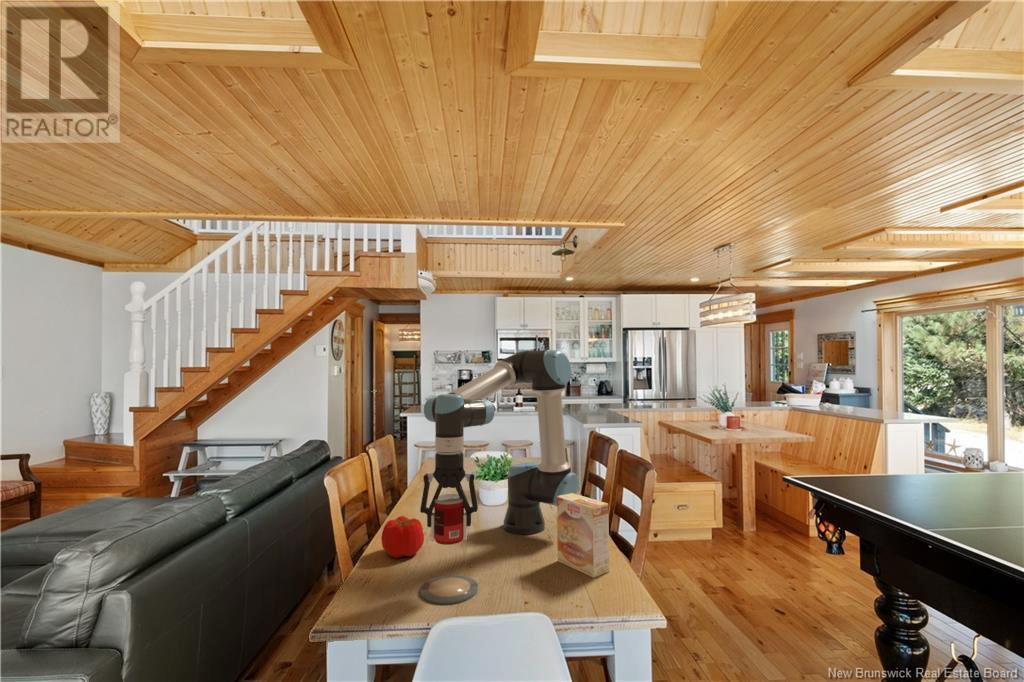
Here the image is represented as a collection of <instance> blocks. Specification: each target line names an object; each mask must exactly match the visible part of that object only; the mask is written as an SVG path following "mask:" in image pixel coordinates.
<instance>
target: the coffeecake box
mask: <svg viewBox="0 0 1024 682" xmlns="http://www.w3.org/2000/svg"><path fill="white" fill-rule="evenodd" d="M556 518H557V519H556V524H557V527H556V530H557V534H556V535H557V536H556V537H557V543H556V545H557V562H559V563H561V564H563V565H565V566H568V567H569V568H571V569H573V570H575V571H578V572H580V573H583V574H585V576H586V575H587V576H588V577H590V578H593V579H594V578H597V577H600V576H601V575H605V574H606V573H609V572H610V532H609V525H610V524H609V522H610V521H609V519H610V518H609V503H607V502H605V501H604V502H603V501H601V500H598V499H593V498H591V497H588V496H583V495H581V494H578V493H577V494H574V493H570V494H565V495H560V496H557V506H556Z"/></svg>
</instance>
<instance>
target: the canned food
mask: <svg viewBox="0 0 1024 682" xmlns="http://www.w3.org/2000/svg"><path fill="white" fill-rule="evenodd" d="M464 512H465V509H464V506H463V501H462V499H460V497H459V494H458V493H455V494H454V493H448V494H442V495H441V494H440V495H439V497H438V499H437V500H436V499H435V506H434V509H433V513H434V538H435V540H434V541H435V543H436V544H439V545H445V546H447V545H448V546H449V545H451V546H452V545H456V544H459V543H461V542H462V541H464V540H463V515H464Z"/></svg>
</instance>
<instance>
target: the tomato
mask: <svg viewBox="0 0 1024 682" xmlns="http://www.w3.org/2000/svg"><path fill="white" fill-rule="evenodd" d="M423 530H424V529H423V525H422V523H421V521H420V520H419V519H417V518H410V519H409V517H406V516H404V515H401V516H398V517H396V518H395V519H390V520H388V521H387V522H386V524H385V525H384V527H383V529H382V533H381V538H380V539H381V546H382V548H383V549H384V551H385V553H386V554H387V555H389V556H390V557H393V558H394V559H395V558H396V559H400V558H402V557H412V556H413V555H415V554H416V553H417V552H418V551H420V550H421V548H422V547H423V545H424V541H425V533H424V531H423Z"/></svg>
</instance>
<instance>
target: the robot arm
mask: <svg viewBox="0 0 1024 682" xmlns="http://www.w3.org/2000/svg"><path fill="white" fill-rule="evenodd" d="M571 376H572V366H571V362H570V360H569V358H568V356H566V353H564V352H563V351H561V350H557V349H542V350H523V351H520V352H517V353H514V354H511V355H510V356H508V357H505V358H504V359H502V360H500V361H498V362H496V363H495V364H494V366H493V368H491V369H490V370H488V371H486V372H485V373H483V374H481V375H478V376H477V377H475V378H473V379H472V380H470V381H469V382H468V381H467V383H465V384H463V385H462V386H459V387H458V388H456V389H454V390H453V391H451V392H448V393H447V394H446V393H445V394H439V395H437V396H436V397H430V398H428V399H427V400H426V402H425V403H424V405H423V413H424V414H423V415H424V417H425V418H426V420H427V421H429V422H431V423H435V424H434V425H435V435H434V436H435V437H434V438H435V441H434V443H435V445H434V446H435V447H434V448H435V449H434V450H435V452H436V453H435V455H434V457H435V460H434V462H435V465H434V466H435V467H434V471H433V472H431V473H427V472H426V473H424V475H423V484H424V486H423V491H422V496H421V503H420V507H419V509H420V510H419V511H420V513H422V514H426V518H427V519H426V526H427V528H430V531H431V532H430V536H431V537H430V540H431V542H434V541H435V538H434V506H435V499H436V500H437V499H438V497H439V496H440V495H441V492H442V489H448V488H451V489H455V490H456V492H457V495H459V497H460V499H462V501H463V506H464V515H463V540H462V541H467V537H468V527H471V525H472V514H473V513H477V512H478V509H479V505H478V500H477V494H476V487H475V475H476V474H475V472H471V473H470V472H466V471H465V469H464V453H463V451H464V439H465V438H464V432H465V431H464V428H472V427H479V426H480V427H482V426H484V425H489V424H490V423H491V422H492V421H493V420H494V417H495V407H494V405H493V403H492V402H491V401H490V400H488V399H487V398H489V397H491V396H493V395H494V394H495V393H497V392H499V391H501V390H502V389H503V388H511V387H512V386H514V385H517V384H531V390H532V392H534V393H535V394H536V402H537V415H538V416H537V419H538V432H539V434H538V435H539V443H540V444H539V446H540V461H541V462H537V461H536V462H535V461H527V462H519V463H515V464H512V465H510V466H509V467H508V470H507V499H508V500H507V501H508V502H507V504H508V505H507V509H506V513H505V515H504V519H503V529H504V530H505V531H506V532H508V533H512V534H517V535H530V534H531V535H532V534H538V533H540V532H542V531H544V530H545V528H546V521H545V518H544V514H543V511H542V509H541V506H540V505H541V503H542V504H547V505H552V506H555V507H557V496H560V495H565V494H570V493H574V494H578V491H579V485H580V484H579V483H580V482H579V477H578V475H577V474H576V473H574V472H573V471H572V467H571V466H572V465H571V464H570V463H569V462H568V461H567V455H566V441H565V429H564V415H563V414H564V411H563V410H564V409H563V401H562V400H563V399H562V398H563V397H562V396H563V395H562V394H563V393H562V392H563V391H565V389H566V384H567V383H569V382H570V380H571ZM433 478H434V479H435V481H436V482H437V483H438V485H437V487H436V490H435V492H434V495H433V498H432V500H431V502H430V505H429V507H427V505H428V498H429V491H430V487H431V486H430V485H431V482H432V481H433ZM464 478H466V481H467V482H468V487H469V493H470V500H471V505H472V506H470V503H469V501H468V499H467V496H466V494H465V493H466V492H464V489H463V485H462V484H461V482H462V481H463V479H464Z"/></svg>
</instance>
